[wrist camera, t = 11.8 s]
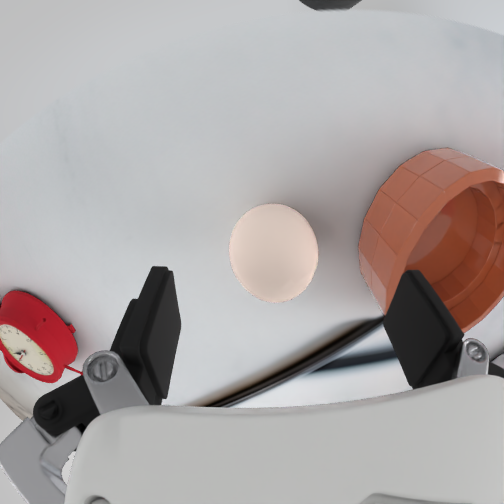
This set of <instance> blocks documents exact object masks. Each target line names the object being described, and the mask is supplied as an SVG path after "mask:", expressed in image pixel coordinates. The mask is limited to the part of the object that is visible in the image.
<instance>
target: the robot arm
mask: <svg viewBox="0 0 504 504" xmlns="http://www.w3.org/2000/svg"><path fill="white" fill-rule="evenodd" d="M383 325H384V328H385V330H386V332H387V335H388V337H389V339H390V341H391V343H392V346H393V348H394V350H395V352H396V355H397V357H398V359H399V362H400V364H401V366H402V369H403V371H404V374H405V376H406V378H407V381H408V383H409V385H410V386H412V388H413V390H409V391H405V392H400V393H395V394H390V395H384V396H379V397H373V398H367V399H361V400H354V401H346V402H338V403H330V404H320V405H308V406H294V407H274V408H215V407H193V406H170V405H161V403H162V399H166V398H167V395H168V390H169V385H170V379H171V374H172V369H173V364H174V359H175V354H176V349H177V344H178V340H179V335H180V330H181V319H180V313H179V308H178V302H177V295H176V289H175V283H174V276H173V271H168V268H167V267H161V266H153V267H152V268H151V270H150V272H149V275H148V277H147V279H146V281H145V284H144V286H143V288H142V291H141V293H140V295H139V298H138V299H132V300H131V301H130V303H129V305H128V308H127V310H126V312H125V315H124V317H123V319H122V322H121V324H120V326H119V329H118V331H117V334H116V336H115V339H114V341H113V344H112V346H111V349H110V351H108V350H105V351H99V352H95V353H94V354H92V355H90V356H89V357H88V358H87V359H86V361H85V363H84V365H83V370H82V371H83V375H81V376H79V377H77V378H75V379H74V380H72V381H70V382H68V383H66V384H64V385H62V386H60V387H58V388H56V389H55V390H53V391H51V392H49V393H47V394H45V395H43V396H42V397H40V398H39V399H38V400H37V402H36V403H35V406H34V409H33V415H34V416H33V417H32V418H31V419H29V418H28V417H27V418H26V419H25V420H24V421H23V422H22V423H21V424H20V425H19V426H18V427H17V428H16V429H15V430H14V431H13V432H12V433H10V435H9V436H8V437H7V438H6V439H5V440H4V441H3V442H2V443H1V444H0V466H1V468H2V470H3V471H4V473H5V474H6V476H7V477H8V479H9V480H10V482H11V483H12V484H13V486H14V487H15V488H16V490H17V491H18V493H19V494H20V495H21V497H22V498H23V499H24V500H25V502H26V503H27V504H504V369H503V368H502V367H500V366H498V365H496V364H494V363H492V362H490V361H489V353H488V350H487V348H486V347H485V345H484V344H483V343H481V342H480V341H479V340H477V339H474V338H468V339H466V340H465V341H464V342H463V341H462V340H461V339H462V338H463V336H464V333H463V332H462V330H461V328H460V327H459V325H458V324H457V322H456V321H455V319H454V318H453V316H452V315H451V313H450V312H449V310H448V309H447V307H446V306H445V304H444V303H443V301H442V300H441V299H440V297H439V296H438V294H437V293H436V292H435V290H434V289H433V287H432V286H431V285H430V283H429V282H428V281H427V279H426V278H425V277H424V275H423V274H422V273H421V271H420V270H406V271H405V273H403V274H402V276H401V278H400V281H399V283H398V286H397V288H396V291H395V294H394V296H393V299H392V301H391V303H390V306H389V308H388V311H387V313H386V315H385V318H384V321H383ZM73 451H76V453H75V456H74V459H73V463H72V466H71V471H70V475H69V480H68V485H66V484H65V482H64V481H63V479H62V475H61V472H62V468H63V466H64V464H65V463H66V462H67V461H68V460H69V458H68V456H69V455H70V454H71V453H72V452H73Z"/></svg>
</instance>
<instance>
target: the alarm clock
mask: <svg viewBox="0 0 504 504" xmlns="http://www.w3.org/2000/svg"><path fill="white" fill-rule="evenodd" d="M75 331H76V330H75V329H74V327H73V325H72V324H70V326H66V324H65V323H64V322H63V320H62V319H61V318H60V317H59V316H58V315H57V314H56V313H55V312H54V311H53V310H52V309H51V308H49V307H48V306H47V305H46V304H44V303H43V302H42V301H40V300H39V299H37V298H36V297H34V296H32V295H30V294H28V293H25V292H22V291H10V292H8V293H7V294H6V295H5V296H4V298H3V300H2V304H1V306H0V350H1V351H2V352H3V355H4V359H5V361H6V363H7V365H8V366H9V367H10V368H11V369H12V370H13V371H15V372H17V373H26V374H27V375H29V376H31V377H33V378H35V379H37V380H39V381H42V382H46V383H55V382H57V381H58V380H59V379H60V378H61V376H62V373H63V371H64V369H65V368H67V369H69V370H72V371H75V372H77V373H80V374H81V375H83V371H82V372H80V371H78V370H75V369H74V368H72V367H70V366H67V365H69V364H71V363H72V362H73V361H74V360H75V358H76V356H77V353H78V348H77V344H76V341H75V338H74V336H73V334H72V333H74V332H75Z"/></svg>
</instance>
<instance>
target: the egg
mask: <svg viewBox="0 0 504 504" xmlns="http://www.w3.org/2000/svg"><path fill="white" fill-rule="evenodd" d="M318 256H319V253H318V243H317V240H316V237H315V234H314V232H313V230H312V228H311V226H310V224H309V223H308V221H307V220H306V219H305V218H304V217H303V216H302V215H301V214H300V213H299V212H298V211H296V210H295V209H293V208H290V207H288V206H286V205H282V204H269V203H268V204H263V205H259V206H256V207H254V208H252V209H251V210H249V211H248V212H246V213H245V214H244V215H243V216H242V217H241V218H240V219H239V220H238V222H237V223H236V225H235V227H234V229H233V231H232V234H231V238H230V242H229V257H230V263H231V267H232V270H233V272H234V274H235V276H236V278H237V279H238V281H239V282H240V283H241V285H242V286H243V287H244V288H245V289H246V290H247V291H248V292H249V293H251V294H252V295H253V296H255V297H257V298H259V299H260V300H263V301H266V302H272V303H280V302H286V301H289V300H292V299H293V298H295V297H297V296H298V295H300V294H301V293H302V292H303V291H304V290H305V289H306V288H307V286H308V285H309V283H310V282H311V280H312V279H313V276H314V273H315V270H316V267H317V264H318Z"/></svg>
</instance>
